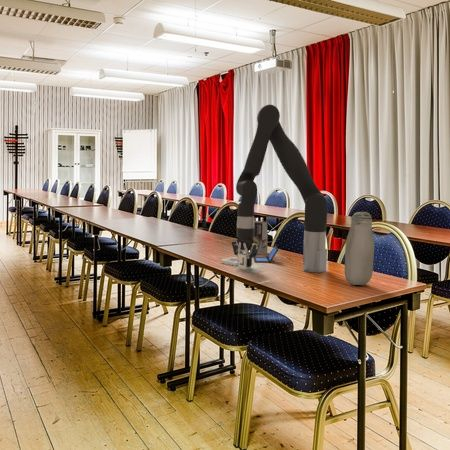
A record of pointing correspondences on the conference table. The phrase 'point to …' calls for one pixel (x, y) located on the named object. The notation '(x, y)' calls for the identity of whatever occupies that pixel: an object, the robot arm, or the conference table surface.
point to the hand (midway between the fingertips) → (244, 265)
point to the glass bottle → (359, 250)
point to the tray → (230, 261)
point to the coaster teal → (244, 269)
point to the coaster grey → (254, 271)
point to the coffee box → (261, 236)
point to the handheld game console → (269, 257)
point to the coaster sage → (256, 266)
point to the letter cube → (242, 261)
